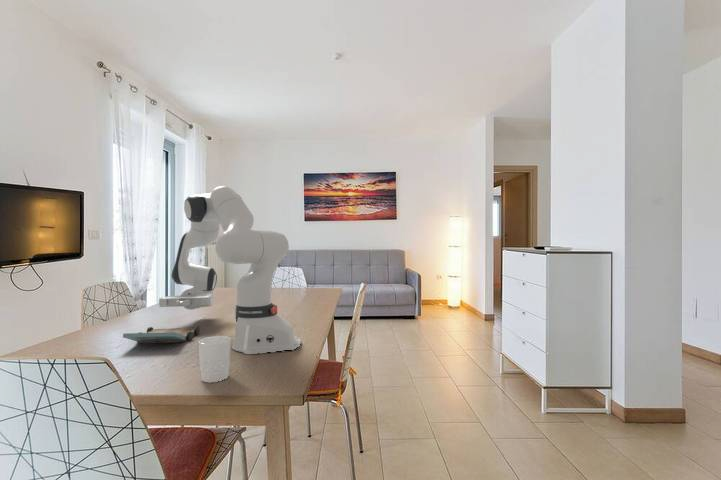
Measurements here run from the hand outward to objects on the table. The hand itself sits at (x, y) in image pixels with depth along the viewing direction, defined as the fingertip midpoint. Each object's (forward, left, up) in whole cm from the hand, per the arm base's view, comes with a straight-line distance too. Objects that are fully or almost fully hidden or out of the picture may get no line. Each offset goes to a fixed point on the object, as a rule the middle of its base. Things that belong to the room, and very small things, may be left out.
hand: (179, 304), depth 145 cm
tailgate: (0, +16, -10) cm, 18 cm away
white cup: (-28, +51, -11) cm, 59 cm away
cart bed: (0, +9, -11) cm, 14 cm away
